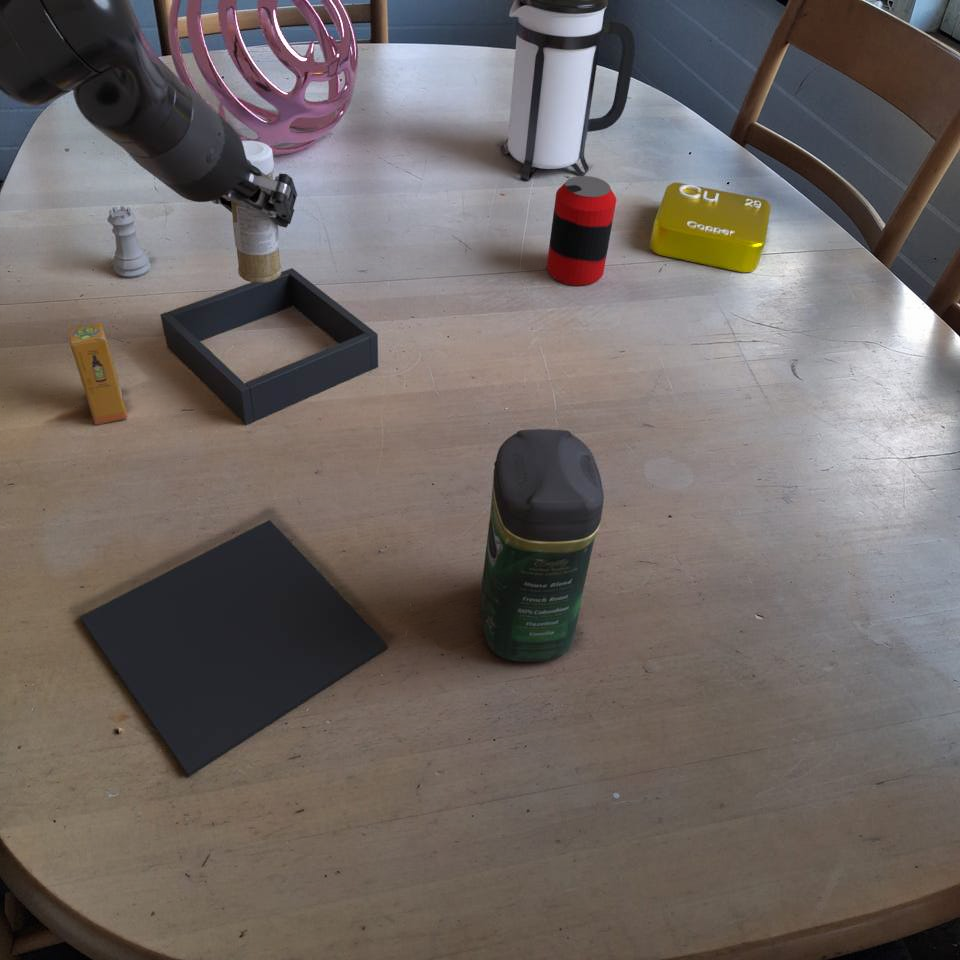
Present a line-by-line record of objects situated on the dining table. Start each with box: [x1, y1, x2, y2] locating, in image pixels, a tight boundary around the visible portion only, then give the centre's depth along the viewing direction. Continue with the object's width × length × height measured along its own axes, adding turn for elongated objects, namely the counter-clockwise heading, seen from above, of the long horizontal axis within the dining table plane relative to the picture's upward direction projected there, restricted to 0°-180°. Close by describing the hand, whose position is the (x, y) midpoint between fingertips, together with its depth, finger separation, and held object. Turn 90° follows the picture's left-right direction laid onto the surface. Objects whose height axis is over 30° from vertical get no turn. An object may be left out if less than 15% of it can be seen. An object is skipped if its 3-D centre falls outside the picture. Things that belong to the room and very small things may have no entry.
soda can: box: [546, 175, 617, 287], centre depth 116 cm, size 8×8×12 cm
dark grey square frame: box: [160, 267, 379, 426], centre depth 101 cm, size 17×17×4 cm
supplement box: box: [68, 322, 128, 426], centre depth 90 cm, size 3×3×10 cm
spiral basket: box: [167, 0, 359, 155], centre depth 135 cm, size 28×28×27 cm
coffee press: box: [499, 0, 636, 182], centre depth 134 cm, size 17×16×30 cm
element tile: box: [649, 182, 772, 273], centre depth 127 cm, size 15×15×5 cm
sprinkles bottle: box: [231, 141, 283, 283], centre depth 90 cm, size 5×5×14 cm
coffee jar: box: [479, 428, 605, 663], centre depth 71 cm, size 10×8×19 cm
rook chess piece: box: [107, 205, 152, 279], centre depth 111 cm, size 4×4×8 cm
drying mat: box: [79, 519, 389, 778], centre depth 74 cm, size 18×18×1 cm
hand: (264, 212), depth 92 cm, fingers closed on sprinkles bottle, 4 cm apart
